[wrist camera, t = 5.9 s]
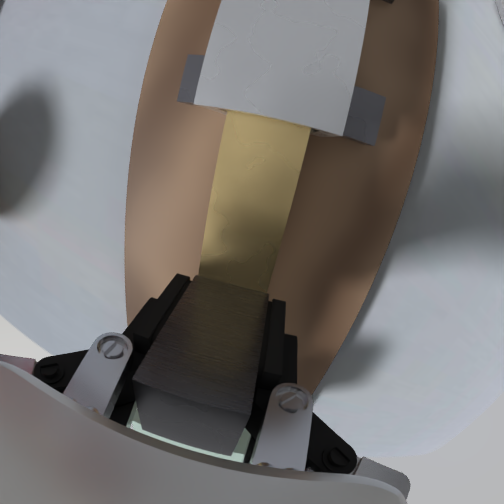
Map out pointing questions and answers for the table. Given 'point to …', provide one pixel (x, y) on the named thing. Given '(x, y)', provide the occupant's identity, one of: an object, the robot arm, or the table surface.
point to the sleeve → (288, 66)
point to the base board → (308, 186)
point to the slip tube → (225, 292)
